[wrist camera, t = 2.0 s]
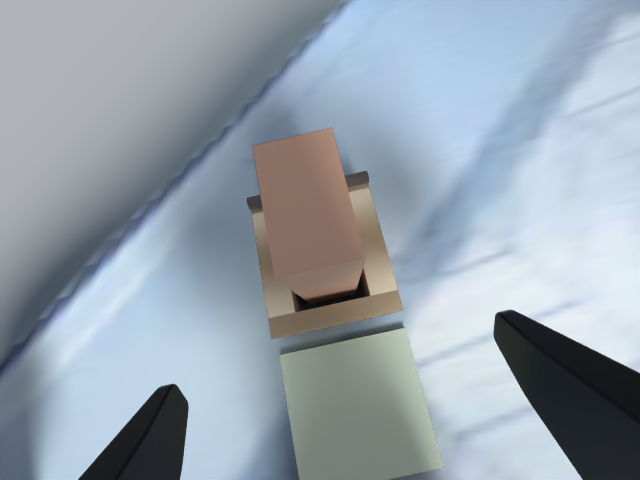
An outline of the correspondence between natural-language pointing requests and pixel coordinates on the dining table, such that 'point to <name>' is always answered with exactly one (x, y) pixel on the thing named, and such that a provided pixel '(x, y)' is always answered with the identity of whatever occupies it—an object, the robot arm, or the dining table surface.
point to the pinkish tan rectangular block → (309, 216)
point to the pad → (359, 410)
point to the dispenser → (374, 276)
